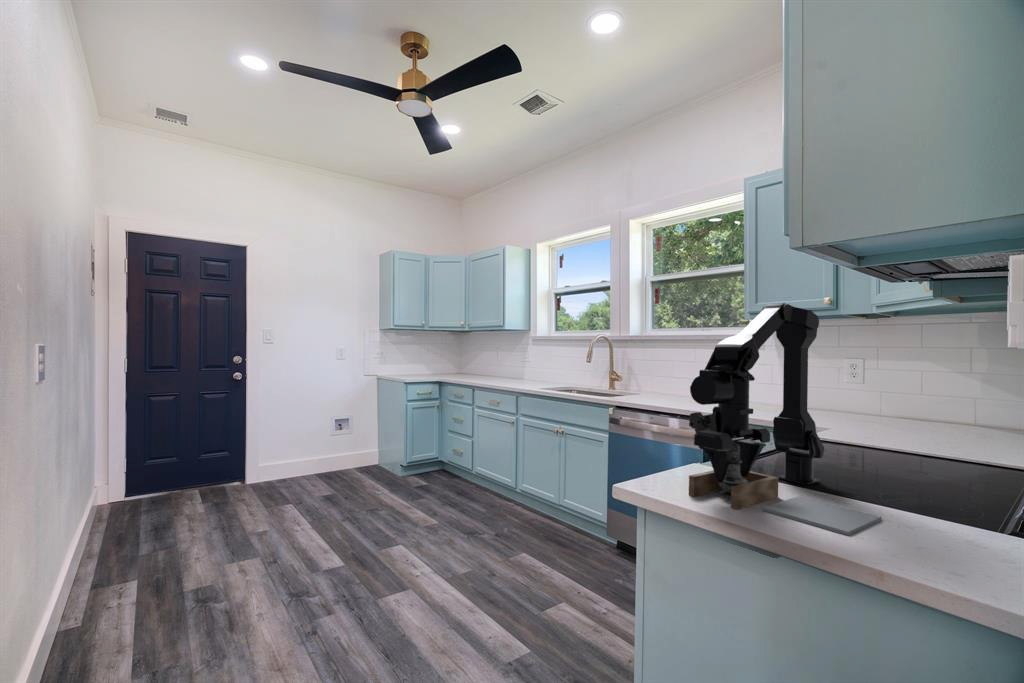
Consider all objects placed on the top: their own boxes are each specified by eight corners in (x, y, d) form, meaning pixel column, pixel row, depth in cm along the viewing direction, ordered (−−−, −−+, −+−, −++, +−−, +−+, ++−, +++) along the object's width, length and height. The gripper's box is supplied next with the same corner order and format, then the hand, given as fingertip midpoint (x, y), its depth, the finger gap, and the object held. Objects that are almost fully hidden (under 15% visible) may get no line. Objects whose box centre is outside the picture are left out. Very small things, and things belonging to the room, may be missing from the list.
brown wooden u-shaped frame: (730, 484, 107) (730, 466, 107) (778, 497, 98) (778, 477, 98) (688, 494, 98) (689, 475, 98) (736, 509, 90) (737, 488, 90)
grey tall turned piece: (741, 493, 101) (742, 436, 101) (752, 501, 95) (753, 441, 95) (712, 491, 101) (713, 434, 101) (721, 500, 95) (722, 440, 96)
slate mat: (799, 498, 98) (799, 495, 98) (881, 519, 86) (881, 516, 86) (762, 510, 90) (763, 507, 90) (848, 535, 78) (848, 531, 78)
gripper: (723, 397, 110) (721, 465, 110) (671, 400, 100) (670, 475, 99) (772, 402, 101) (770, 476, 101) (721, 406, 91) (719, 489, 90)
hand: (732, 478), depth 98 cm, fingers closed on grey tall turned piece, 8 cm apart
